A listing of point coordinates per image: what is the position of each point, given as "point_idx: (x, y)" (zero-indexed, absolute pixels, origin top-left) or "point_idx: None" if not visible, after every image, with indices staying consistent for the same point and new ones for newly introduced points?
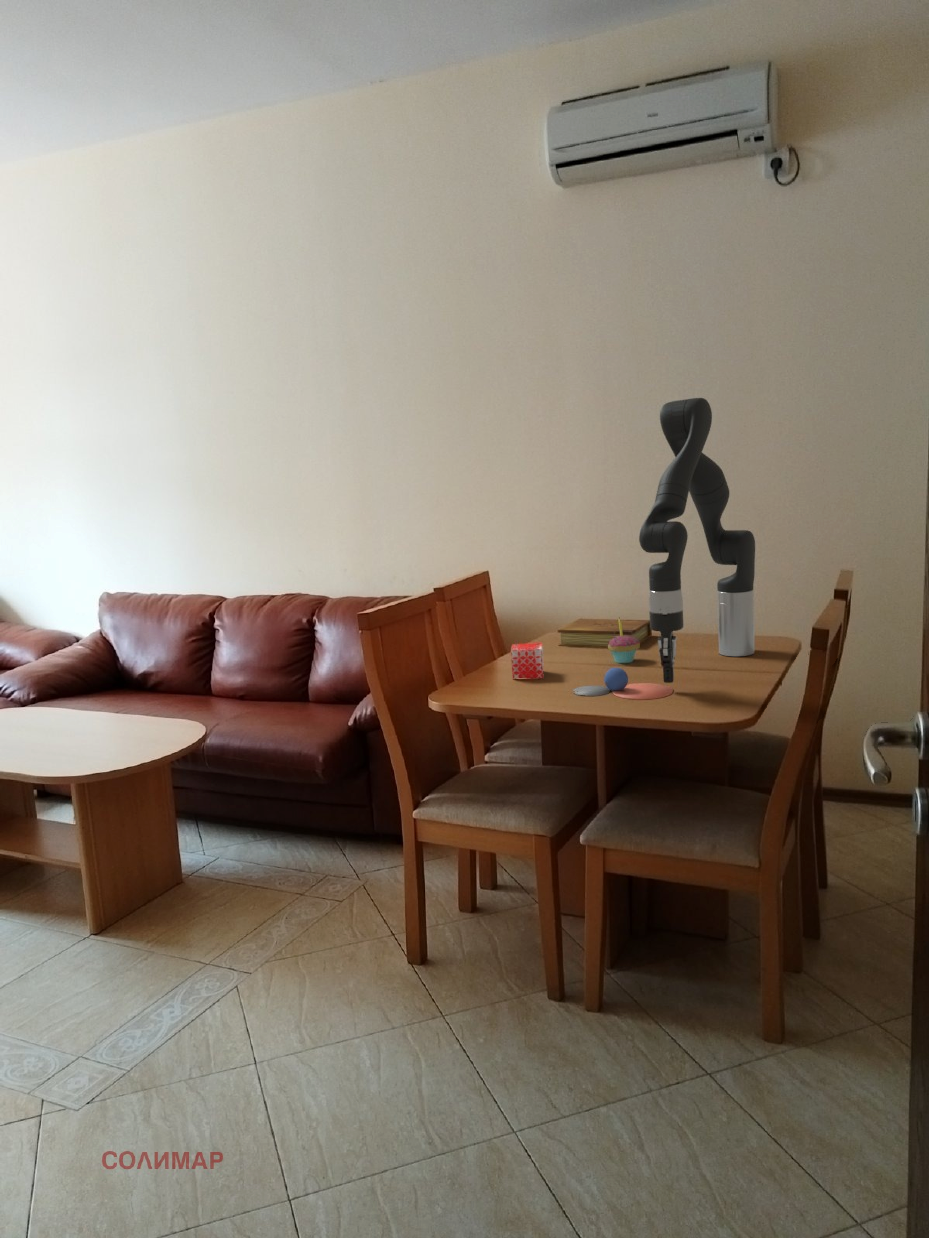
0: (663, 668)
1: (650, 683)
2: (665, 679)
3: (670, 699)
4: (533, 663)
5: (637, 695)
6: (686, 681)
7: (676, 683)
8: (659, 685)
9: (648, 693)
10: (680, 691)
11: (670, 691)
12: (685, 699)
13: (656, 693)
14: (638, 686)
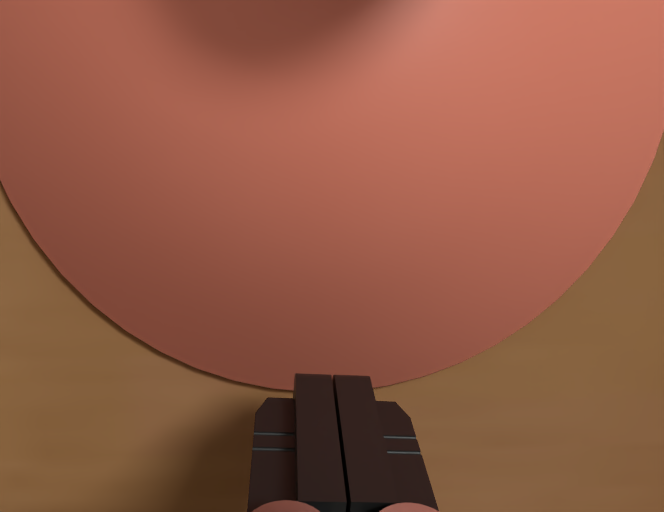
0: (299, 490)
1: (639, 173)
2: (260, 412)
3: (33, 373)
4: None
5: (114, 35)
6: (658, 476)
7: (610, 405)
8: (537, 266)
9: (210, 163)
10: None
11: (289, 372)
12: (49, 486)
13: (212, 246)
14: (536, 36)
